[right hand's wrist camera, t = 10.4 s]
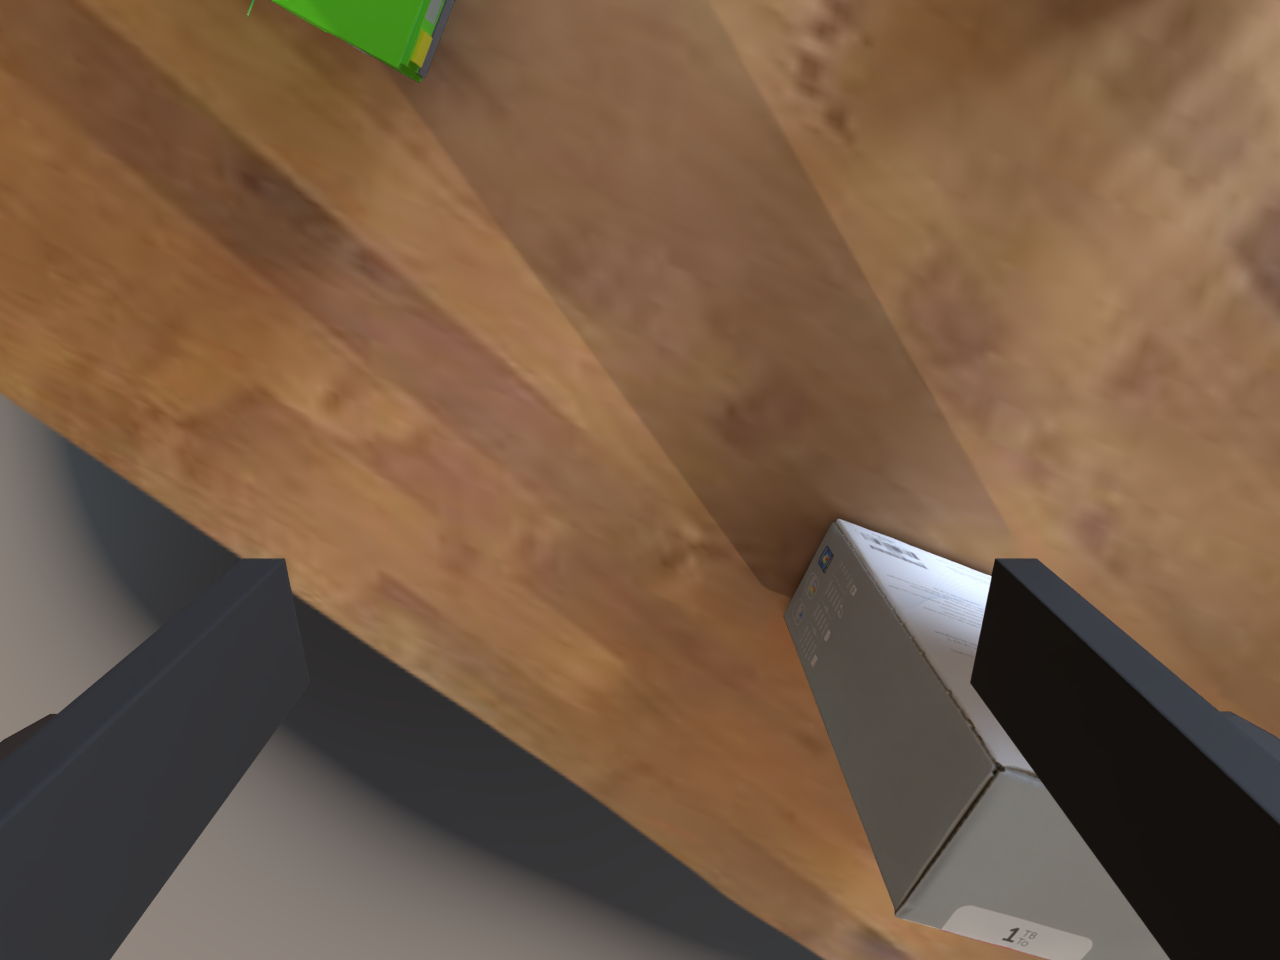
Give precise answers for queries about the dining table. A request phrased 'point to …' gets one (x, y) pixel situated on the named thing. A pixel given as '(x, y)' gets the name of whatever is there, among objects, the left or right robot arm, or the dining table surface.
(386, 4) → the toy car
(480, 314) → the dining table surface
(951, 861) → the hard drive box
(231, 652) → the right robot arm
